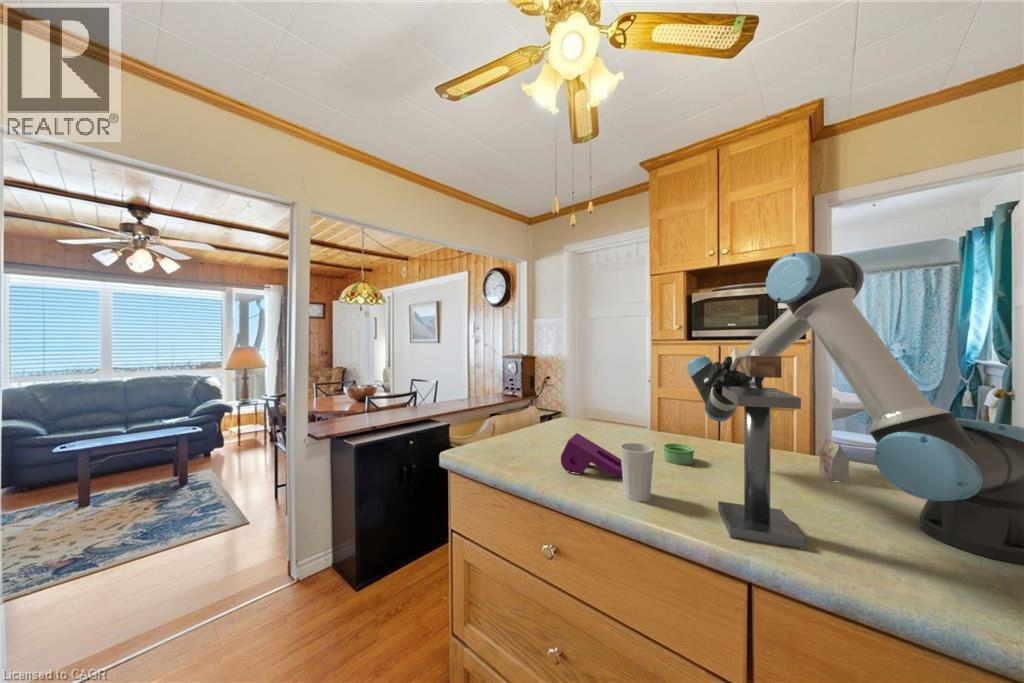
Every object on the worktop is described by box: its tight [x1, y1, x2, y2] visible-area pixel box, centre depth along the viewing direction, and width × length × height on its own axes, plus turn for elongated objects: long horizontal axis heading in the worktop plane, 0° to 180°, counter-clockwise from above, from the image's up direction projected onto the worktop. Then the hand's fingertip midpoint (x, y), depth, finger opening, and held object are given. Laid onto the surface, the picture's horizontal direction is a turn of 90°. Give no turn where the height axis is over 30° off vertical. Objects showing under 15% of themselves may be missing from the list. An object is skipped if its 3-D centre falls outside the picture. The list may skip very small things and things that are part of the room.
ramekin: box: [663, 442, 695, 466], centre depth 115 cm, size 9×9×4 cm
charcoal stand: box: [717, 386, 806, 550], centre depth 74 cm, size 15×12×28 cm
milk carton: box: [819, 438, 850, 483], centre depth 100 cm, size 4×7×10 cm, turn 161°
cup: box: [619, 442, 655, 502], centre depth 90 cm, size 8×8×12 cm
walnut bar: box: [734, 355, 782, 379], centre depth 79 cm, size 22×5×4 cm, turn 160°
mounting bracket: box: [560, 432, 623, 479], centre depth 107 cm, size 9×8×18 cm
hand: (746, 352), depth 81 cm, fingers closed on walnut bar, 3 cm apart
